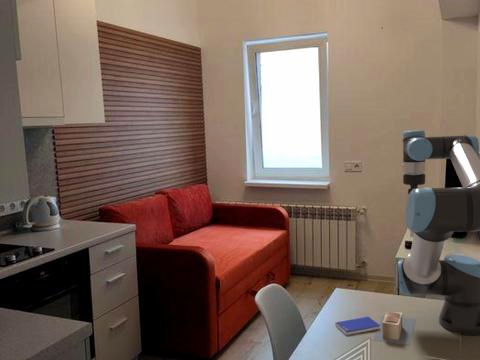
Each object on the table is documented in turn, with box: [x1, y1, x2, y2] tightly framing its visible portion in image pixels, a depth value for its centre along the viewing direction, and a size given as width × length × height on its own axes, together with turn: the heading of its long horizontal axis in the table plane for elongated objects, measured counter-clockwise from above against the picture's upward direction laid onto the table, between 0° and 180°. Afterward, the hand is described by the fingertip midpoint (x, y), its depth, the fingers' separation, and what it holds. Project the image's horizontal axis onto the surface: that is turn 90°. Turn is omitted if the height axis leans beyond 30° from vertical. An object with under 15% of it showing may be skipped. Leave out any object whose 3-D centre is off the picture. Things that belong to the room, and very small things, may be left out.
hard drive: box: [335, 316, 380, 336], centre depth 160 cm, size 2×8×12 cm
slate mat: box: [373, 315, 416, 346], centre depth 157 cm, size 11×20×1 cm, turn 155°
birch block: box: [382, 310, 403, 340], centre depth 154 cm, size 5×5×10 cm
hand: (414, 236), depth 173 cm, fingers closed
